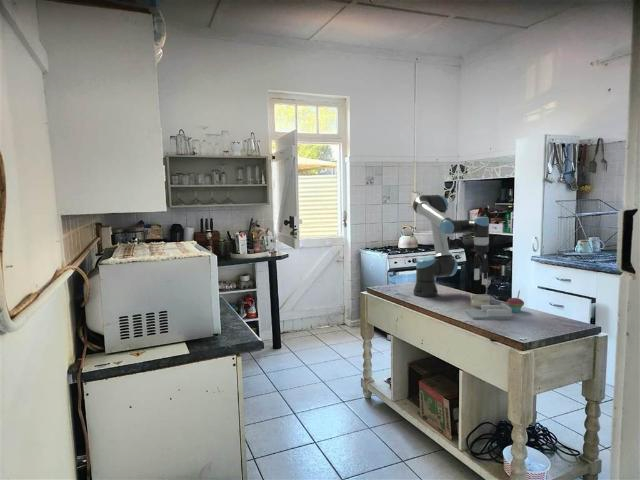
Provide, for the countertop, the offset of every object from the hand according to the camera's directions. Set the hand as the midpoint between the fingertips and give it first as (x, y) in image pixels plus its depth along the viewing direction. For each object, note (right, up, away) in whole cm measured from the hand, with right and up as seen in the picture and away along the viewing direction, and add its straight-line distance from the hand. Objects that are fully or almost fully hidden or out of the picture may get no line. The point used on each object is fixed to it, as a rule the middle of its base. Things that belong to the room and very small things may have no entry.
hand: (480, 282), depth 234 cm
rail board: (-3, -16, -18) cm, 24 cm away
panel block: (0, -14, +2) cm, 14 cm away
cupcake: (+15, -15, -10) cm, 23 cm away
